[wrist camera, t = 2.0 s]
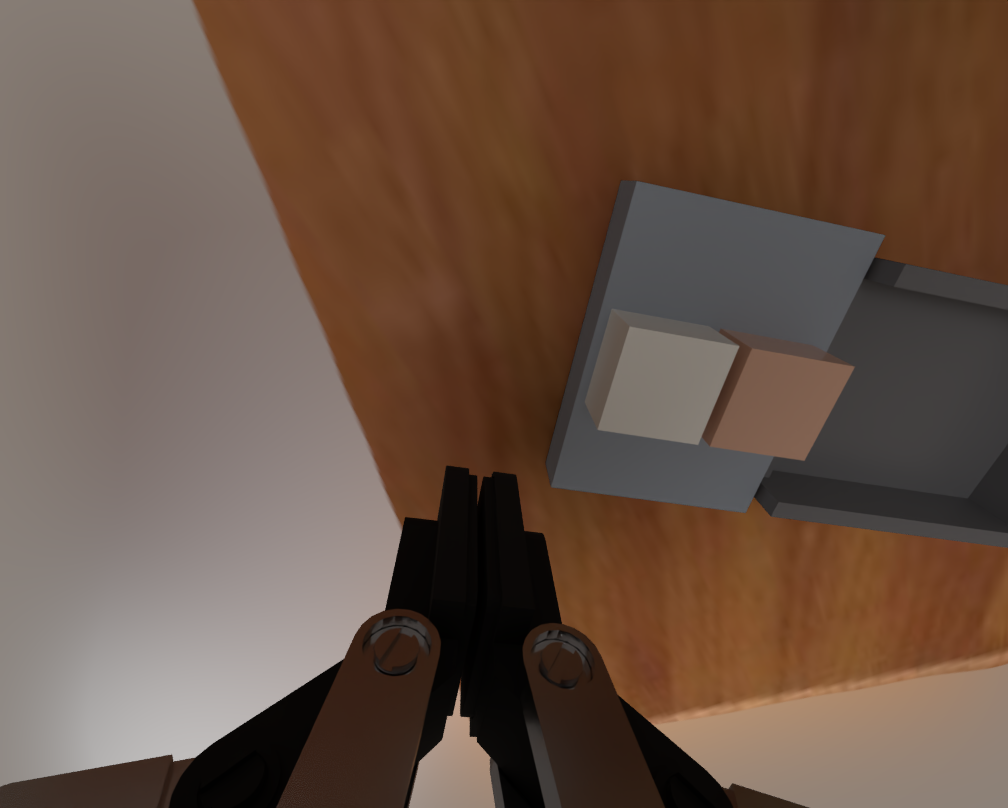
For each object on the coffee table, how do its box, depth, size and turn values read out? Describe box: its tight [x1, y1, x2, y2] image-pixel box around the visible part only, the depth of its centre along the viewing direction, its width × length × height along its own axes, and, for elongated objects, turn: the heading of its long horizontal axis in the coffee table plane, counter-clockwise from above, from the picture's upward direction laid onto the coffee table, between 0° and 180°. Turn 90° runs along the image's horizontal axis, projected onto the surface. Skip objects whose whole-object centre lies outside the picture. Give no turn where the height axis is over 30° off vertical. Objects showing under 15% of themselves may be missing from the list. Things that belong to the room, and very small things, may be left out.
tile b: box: [702, 329, 855, 461], centre depth 23 cm, size 5×5×3 cm
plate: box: [546, 181, 885, 513], centre depth 25 cm, size 16×12×2 cm
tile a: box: [585, 309, 739, 445], centre depth 23 cm, size 5×5×3 cm
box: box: [754, 258, 1008, 548], centre depth 27 cm, size 14×17×4 cm
